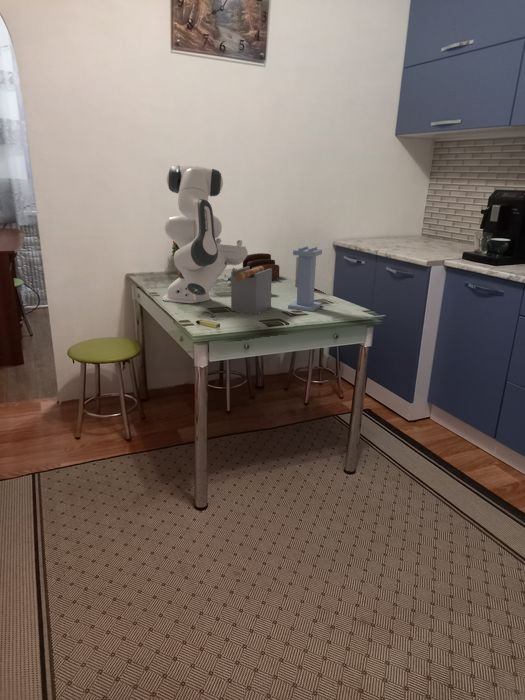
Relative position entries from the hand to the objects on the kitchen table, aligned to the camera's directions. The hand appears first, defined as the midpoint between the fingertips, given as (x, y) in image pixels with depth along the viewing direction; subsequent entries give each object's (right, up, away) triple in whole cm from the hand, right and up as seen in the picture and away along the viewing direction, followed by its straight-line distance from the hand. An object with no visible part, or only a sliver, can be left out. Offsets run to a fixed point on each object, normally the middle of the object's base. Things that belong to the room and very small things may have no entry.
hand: (229, 240), depth 199 cm
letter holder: (+12, -1, +97) cm, 98 cm away
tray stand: (+8, -25, +28) cm, 38 cm away
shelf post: (+32, -23, +33) cm, 52 cm away
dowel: (+8, -10, +18) cm, 22 cm away
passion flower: (-2, -8, +77) cm, 77 cm away
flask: (+34, -10, +73) cm, 81 cm away
